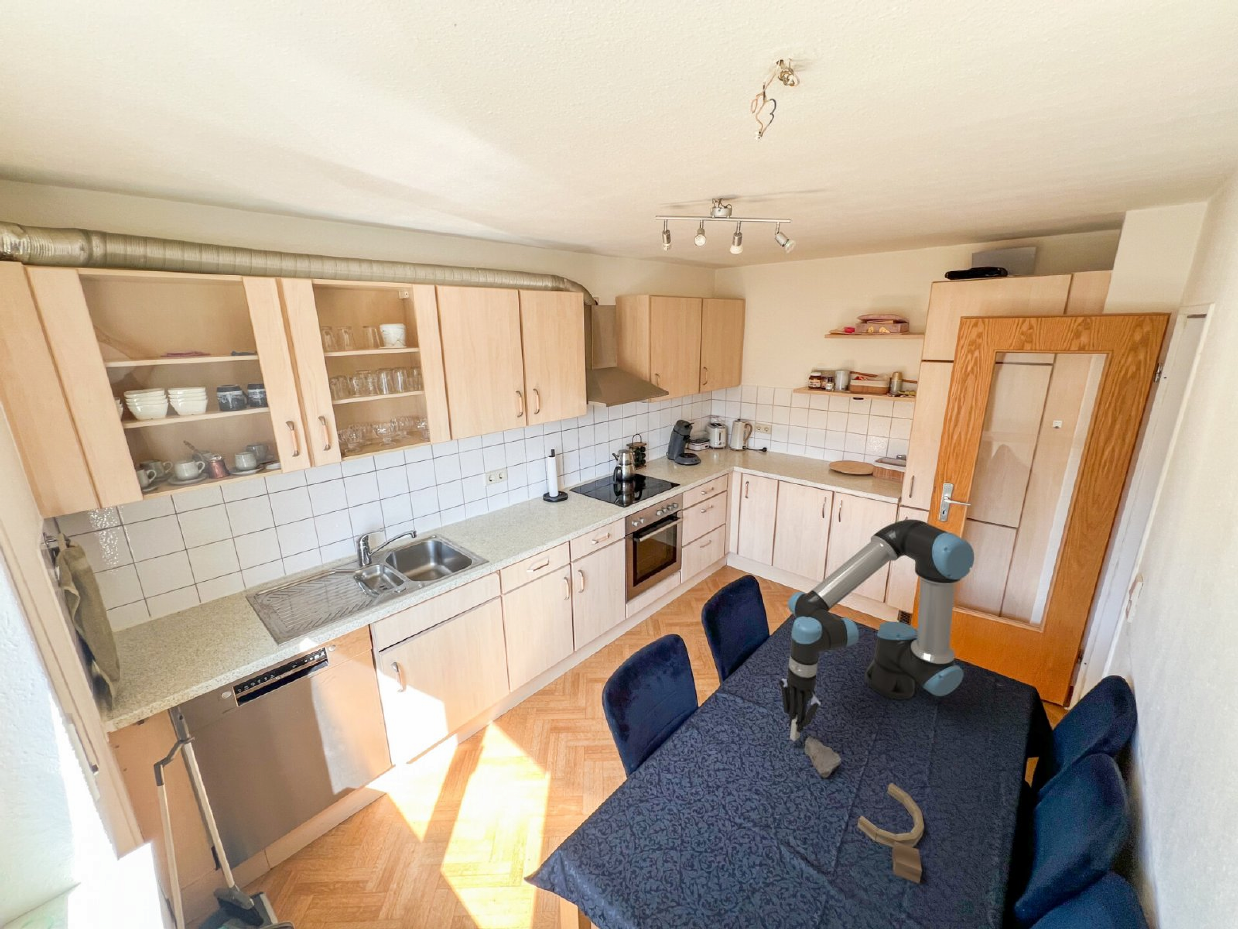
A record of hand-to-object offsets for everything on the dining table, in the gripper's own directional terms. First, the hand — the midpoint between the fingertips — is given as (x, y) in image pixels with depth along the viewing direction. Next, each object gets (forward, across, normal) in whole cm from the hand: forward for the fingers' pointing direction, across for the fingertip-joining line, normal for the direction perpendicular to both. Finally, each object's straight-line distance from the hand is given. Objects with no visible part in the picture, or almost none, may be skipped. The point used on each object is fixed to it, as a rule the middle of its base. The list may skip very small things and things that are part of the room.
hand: (794, 737), depth 145 cm
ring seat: (+3, +29, 0) cm, 30 cm away
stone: (+4, +8, +1) cm, 9 cm away
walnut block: (+4, +36, -9) cm, 37 cm away
